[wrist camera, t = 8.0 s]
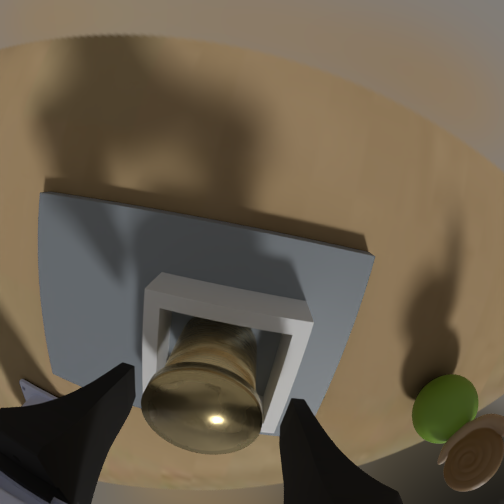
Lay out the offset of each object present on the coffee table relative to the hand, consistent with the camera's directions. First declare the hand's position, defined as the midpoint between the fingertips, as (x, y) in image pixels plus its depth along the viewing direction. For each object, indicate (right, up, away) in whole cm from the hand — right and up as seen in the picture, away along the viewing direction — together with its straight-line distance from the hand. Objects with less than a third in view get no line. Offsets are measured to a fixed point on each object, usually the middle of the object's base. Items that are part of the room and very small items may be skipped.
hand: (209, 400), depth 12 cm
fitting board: (-3, +2, +5) cm, 6 cm away
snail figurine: (+17, -4, +6) cm, 18 cm away
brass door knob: (0, +1, +4) cm, 5 cm away
